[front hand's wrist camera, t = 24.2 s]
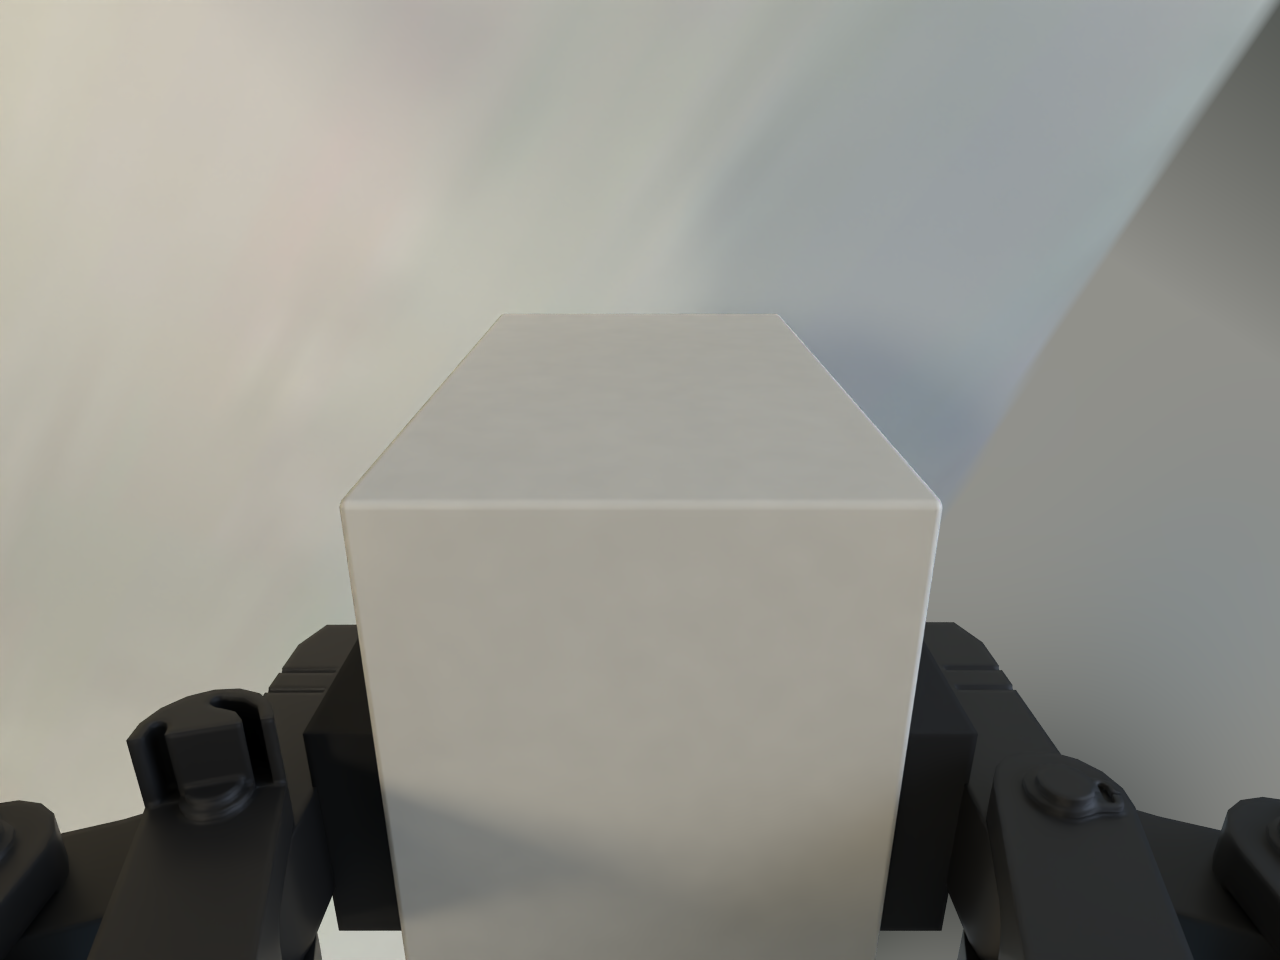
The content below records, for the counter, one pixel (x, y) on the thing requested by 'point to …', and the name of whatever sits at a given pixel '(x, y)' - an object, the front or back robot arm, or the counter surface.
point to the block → (640, 645)
